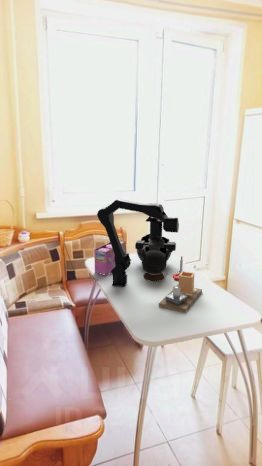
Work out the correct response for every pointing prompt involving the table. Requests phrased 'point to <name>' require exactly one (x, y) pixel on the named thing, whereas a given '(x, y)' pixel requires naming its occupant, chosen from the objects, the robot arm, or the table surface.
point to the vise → (176, 297)
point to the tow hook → (179, 271)
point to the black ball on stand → (154, 265)
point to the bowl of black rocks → (146, 239)
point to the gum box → (106, 258)
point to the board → (184, 306)
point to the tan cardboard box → (186, 282)
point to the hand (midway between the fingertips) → (155, 262)
